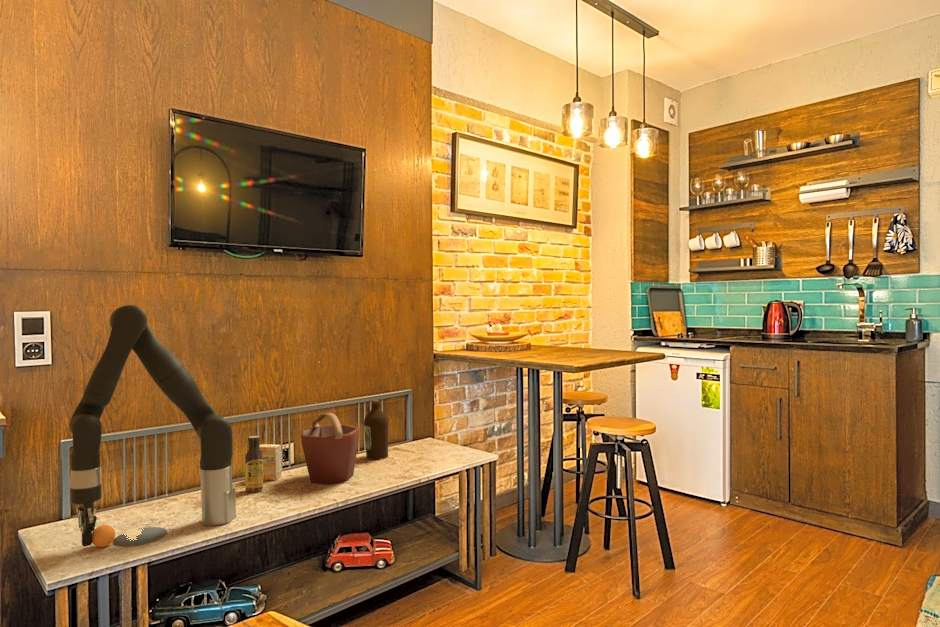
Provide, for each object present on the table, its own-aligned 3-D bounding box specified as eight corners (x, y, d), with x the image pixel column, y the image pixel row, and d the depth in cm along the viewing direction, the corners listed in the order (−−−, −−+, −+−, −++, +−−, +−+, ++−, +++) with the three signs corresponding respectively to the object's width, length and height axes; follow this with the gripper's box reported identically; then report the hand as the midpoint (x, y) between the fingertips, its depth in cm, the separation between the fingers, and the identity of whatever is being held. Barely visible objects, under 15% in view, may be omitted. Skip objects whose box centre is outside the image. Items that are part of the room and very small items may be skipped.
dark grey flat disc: (175, 527, 186) (175, 526, 186) (150, 545, 172) (150, 545, 172) (131, 528, 186) (131, 527, 186) (102, 546, 172) (102, 546, 172)
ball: (90, 553, 170) (114, 548, 174) (94, 541, 168) (118, 537, 172) (87, 534, 174) (111, 530, 178) (91, 522, 171) (115, 518, 175)
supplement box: (256, 480, 234) (255, 446, 234) (262, 476, 239) (261, 443, 238) (276, 480, 233) (275, 446, 232) (282, 476, 237) (281, 443, 237)
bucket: (301, 473, 242) (299, 411, 242) (356, 466, 249) (354, 406, 248) (304, 490, 219) (301, 422, 218) (365, 483, 226) (363, 416, 225)
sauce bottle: (248, 494, 216) (245, 439, 216) (243, 490, 221) (241, 436, 221) (266, 490, 220) (264, 436, 220) (261, 486, 225) (259, 434, 225)
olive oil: (384, 452, 271) (382, 397, 270) (393, 457, 261) (391, 400, 261) (361, 456, 266) (359, 399, 265) (369, 461, 256) (367, 403, 256)
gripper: (106, 485, 167) (107, 548, 168) (95, 476, 177) (96, 535, 177) (75, 491, 162) (76, 555, 162) (65, 481, 172) (66, 542, 172)
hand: (86, 545), depth 170 cm, fingers closed
